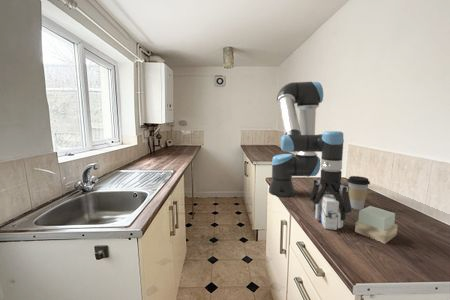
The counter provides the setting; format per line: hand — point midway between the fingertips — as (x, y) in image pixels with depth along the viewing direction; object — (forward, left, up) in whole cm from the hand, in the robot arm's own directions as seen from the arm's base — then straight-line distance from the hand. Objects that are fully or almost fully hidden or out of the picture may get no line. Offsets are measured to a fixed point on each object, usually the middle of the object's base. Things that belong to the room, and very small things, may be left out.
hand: (328, 222), depth 89 cm
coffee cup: (-2, +28, -1) cm, 28 cm away
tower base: (+14, +8, -1) cm, 16 cm away
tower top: (+14, +8, +3) cm, 16 cm away
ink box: (0, 0, -1) cm, 1 cm away
